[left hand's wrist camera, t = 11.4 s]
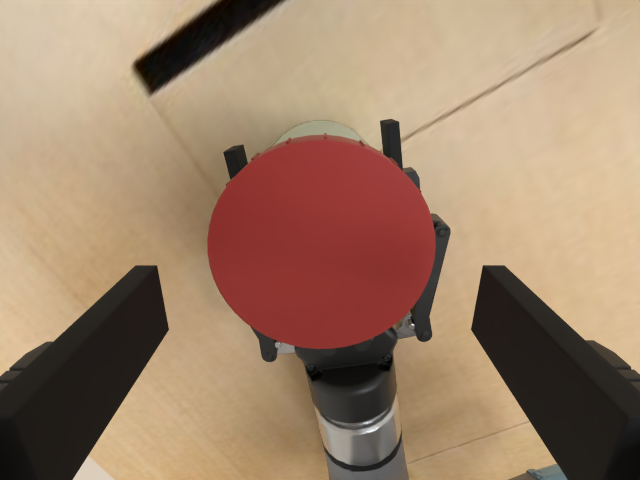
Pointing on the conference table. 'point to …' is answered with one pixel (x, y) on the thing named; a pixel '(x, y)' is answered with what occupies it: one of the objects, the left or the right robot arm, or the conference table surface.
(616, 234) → the conference table surface
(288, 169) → the lid
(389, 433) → the right robot arm
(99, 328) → the left robot arm
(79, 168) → the conference table surface
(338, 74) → the conference table surface
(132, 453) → the conference table surface
